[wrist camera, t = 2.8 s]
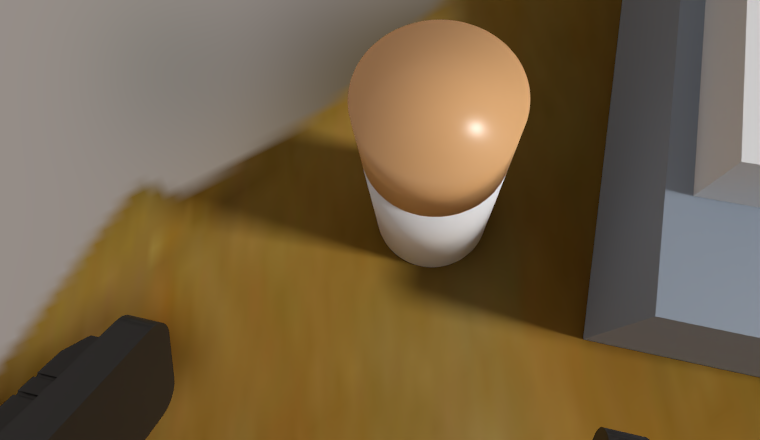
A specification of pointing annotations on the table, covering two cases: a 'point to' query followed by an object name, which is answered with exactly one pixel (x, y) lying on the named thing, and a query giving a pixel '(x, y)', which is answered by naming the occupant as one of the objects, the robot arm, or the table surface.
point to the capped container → (437, 134)
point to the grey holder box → (682, 187)
